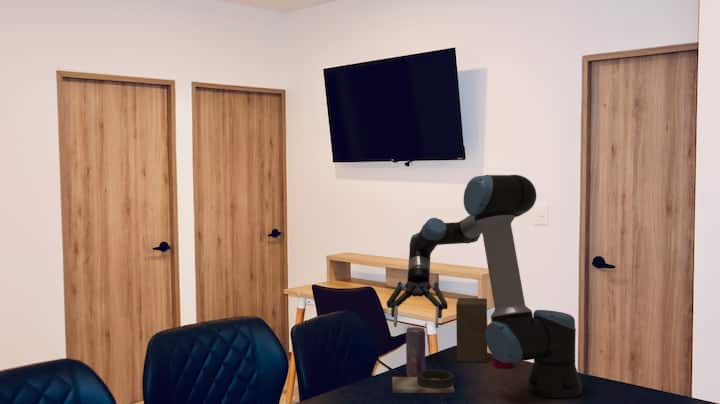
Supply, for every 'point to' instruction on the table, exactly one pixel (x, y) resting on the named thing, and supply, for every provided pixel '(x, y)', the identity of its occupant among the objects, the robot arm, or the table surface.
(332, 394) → the table surface
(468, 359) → the wooden block
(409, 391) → the band board
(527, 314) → the robot arm
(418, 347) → the beverage can
